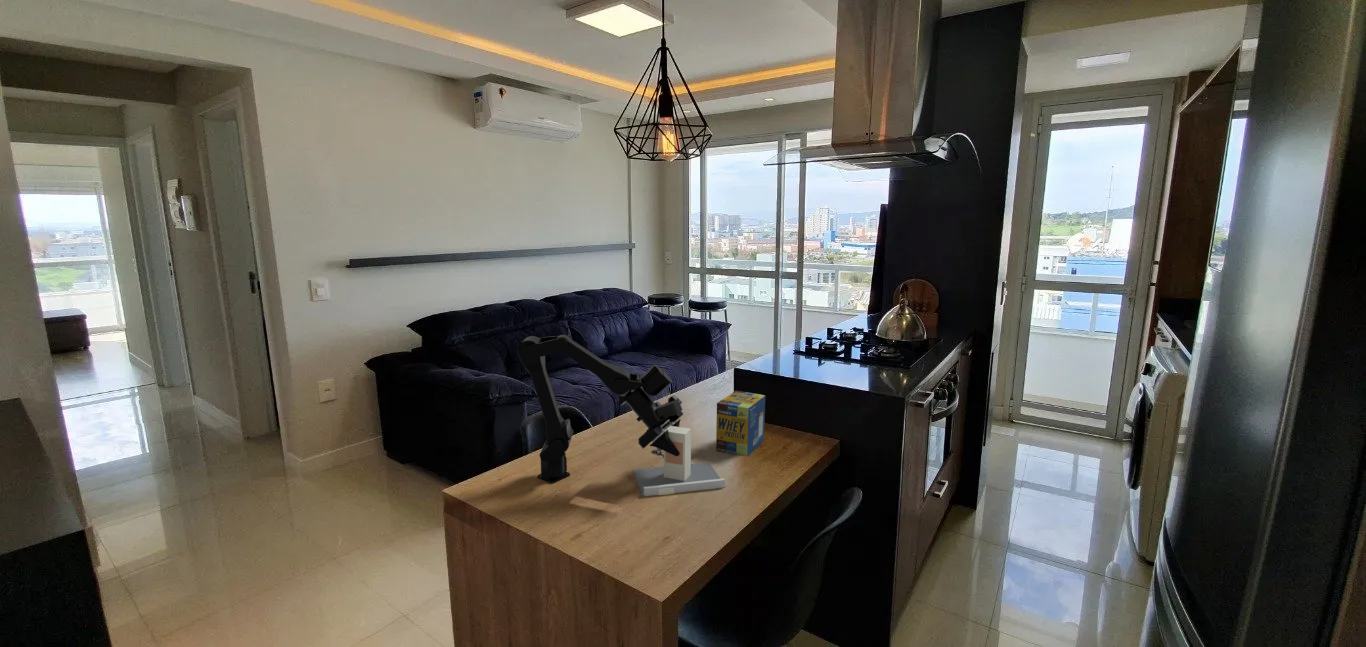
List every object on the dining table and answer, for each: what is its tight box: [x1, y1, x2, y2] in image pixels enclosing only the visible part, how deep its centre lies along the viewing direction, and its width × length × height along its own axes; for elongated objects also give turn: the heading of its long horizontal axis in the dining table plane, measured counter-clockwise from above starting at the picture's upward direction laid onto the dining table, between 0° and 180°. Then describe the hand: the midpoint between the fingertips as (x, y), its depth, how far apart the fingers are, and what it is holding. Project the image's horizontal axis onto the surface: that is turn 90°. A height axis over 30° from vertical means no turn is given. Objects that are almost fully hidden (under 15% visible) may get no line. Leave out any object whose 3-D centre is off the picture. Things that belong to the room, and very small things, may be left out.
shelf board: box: [632, 461, 727, 497], centre depth 151 cm, size 22×16×4 cm
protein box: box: [715, 390, 766, 457], centre depth 177 cm, size 10×15×16 cm
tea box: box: [663, 426, 692, 481], centre depth 152 cm, size 6×5×13 cm
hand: (682, 451), depth 151 cm, fingers closed on tea box, 5 cm apart
